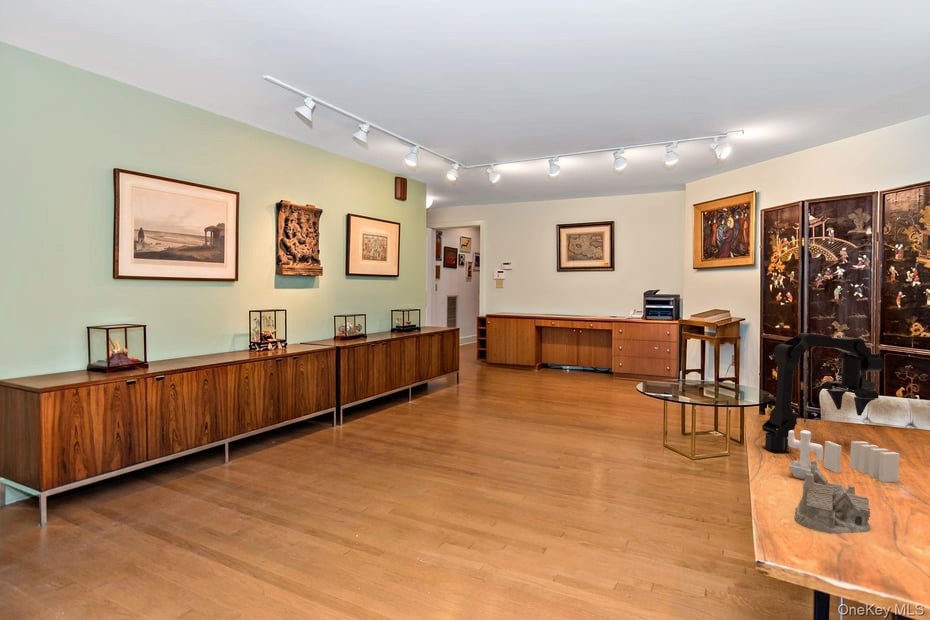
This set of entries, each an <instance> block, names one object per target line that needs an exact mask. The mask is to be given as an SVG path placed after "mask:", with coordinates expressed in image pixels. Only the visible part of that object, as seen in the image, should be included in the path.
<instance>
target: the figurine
mask: <svg viewBox="0 0 930 620" xmlns="http://www.w3.org/2000/svg"><path fill="white" fill-rule="evenodd" d="M799 433H800V435H799V436H800V440H799V439H796V436H795V430H790V431H789V433H788V437H787V439H788V446H789V447H790V448H792V449H797V450H799V451H800V452H799V453H800V454H799V461H798V460H793V461H792V462H791V463H790V464H788V468H789V470H790V472H791V473H792V477H794V478H797V479H801V480H804V481H805V478H806V474H807V473H810V474H811V469H810V465H811V463H810V456H811V455H810V454H811V453H815V456H816V457H815V460H816V462H818V463H822V462H824V461H823V459H824V446H823V445H821V444H820V443H814V442H811V438H812V432H811V431H810V430H806V429H803V430H801V431H800V432H799ZM817 468H818V469H819V470H820V468H821V466H820V465H817Z"/></svg>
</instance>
